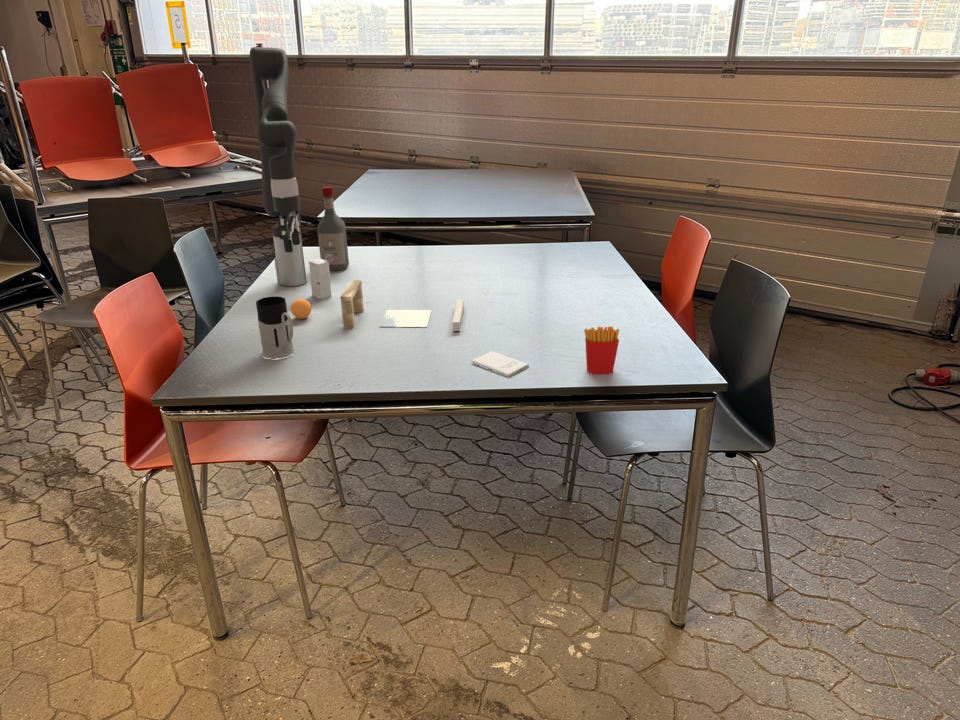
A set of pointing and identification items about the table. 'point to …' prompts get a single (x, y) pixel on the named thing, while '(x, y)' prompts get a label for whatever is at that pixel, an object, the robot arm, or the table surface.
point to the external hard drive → (500, 363)
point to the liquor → (332, 235)
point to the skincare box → (320, 278)
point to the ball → (301, 308)
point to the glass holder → (275, 327)
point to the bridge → (351, 302)
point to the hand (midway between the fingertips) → (292, 248)
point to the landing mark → (409, 317)
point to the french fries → (601, 349)
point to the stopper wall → (458, 315)
